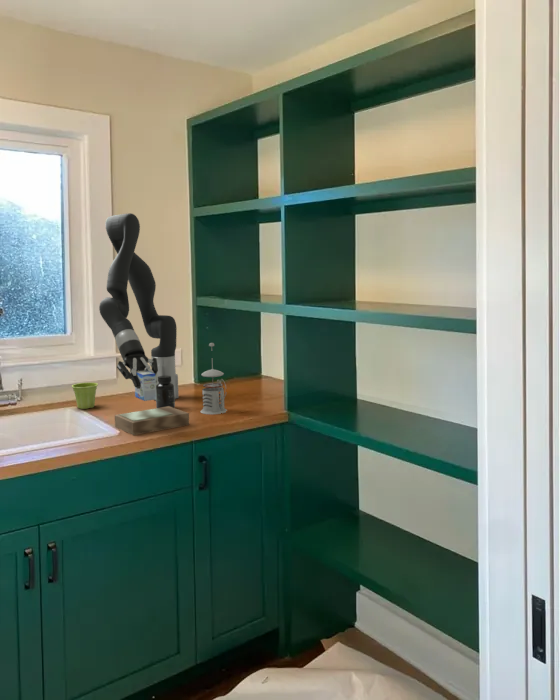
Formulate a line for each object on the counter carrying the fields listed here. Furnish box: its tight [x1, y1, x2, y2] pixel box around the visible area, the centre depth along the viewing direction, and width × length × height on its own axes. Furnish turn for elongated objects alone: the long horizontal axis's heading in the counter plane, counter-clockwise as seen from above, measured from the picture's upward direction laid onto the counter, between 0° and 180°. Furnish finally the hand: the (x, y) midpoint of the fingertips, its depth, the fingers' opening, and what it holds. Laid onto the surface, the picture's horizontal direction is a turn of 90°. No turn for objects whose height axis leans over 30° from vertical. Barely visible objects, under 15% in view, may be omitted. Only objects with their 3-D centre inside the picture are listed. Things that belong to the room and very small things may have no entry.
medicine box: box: [134, 371, 157, 402], centre depth 214 cm, size 8×4×9 cm, turn 34°
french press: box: [200, 342, 228, 415], centre depth 236 cm, size 10×12×25 cm
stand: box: [114, 406, 190, 436], centre depth 218 cm, size 20×14×4 cm
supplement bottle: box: [155, 376, 176, 409], centre depth 243 cm, size 7×7×12 cm
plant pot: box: [71, 382, 99, 410], centre depth 248 cm, size 9×9×9 cm
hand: (146, 386), depth 213 cm, fingers closed on medicine box, 4 cm apart
